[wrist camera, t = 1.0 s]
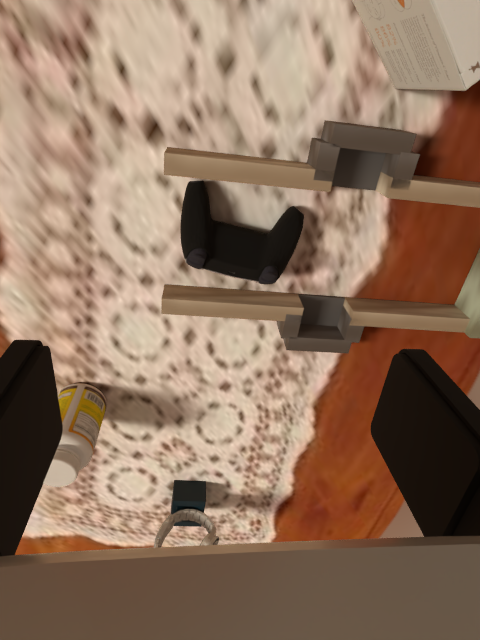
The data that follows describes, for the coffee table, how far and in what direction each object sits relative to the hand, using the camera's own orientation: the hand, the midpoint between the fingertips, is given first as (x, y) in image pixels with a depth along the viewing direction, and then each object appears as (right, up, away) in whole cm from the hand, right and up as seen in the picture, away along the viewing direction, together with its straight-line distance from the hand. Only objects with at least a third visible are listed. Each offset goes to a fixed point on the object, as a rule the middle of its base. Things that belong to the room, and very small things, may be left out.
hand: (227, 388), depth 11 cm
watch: (-7, -23, +45) cm, 51 cm away
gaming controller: (0, +11, +26) cm, 28 cm away
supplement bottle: (-18, -7, +35) cm, 40 cm away
